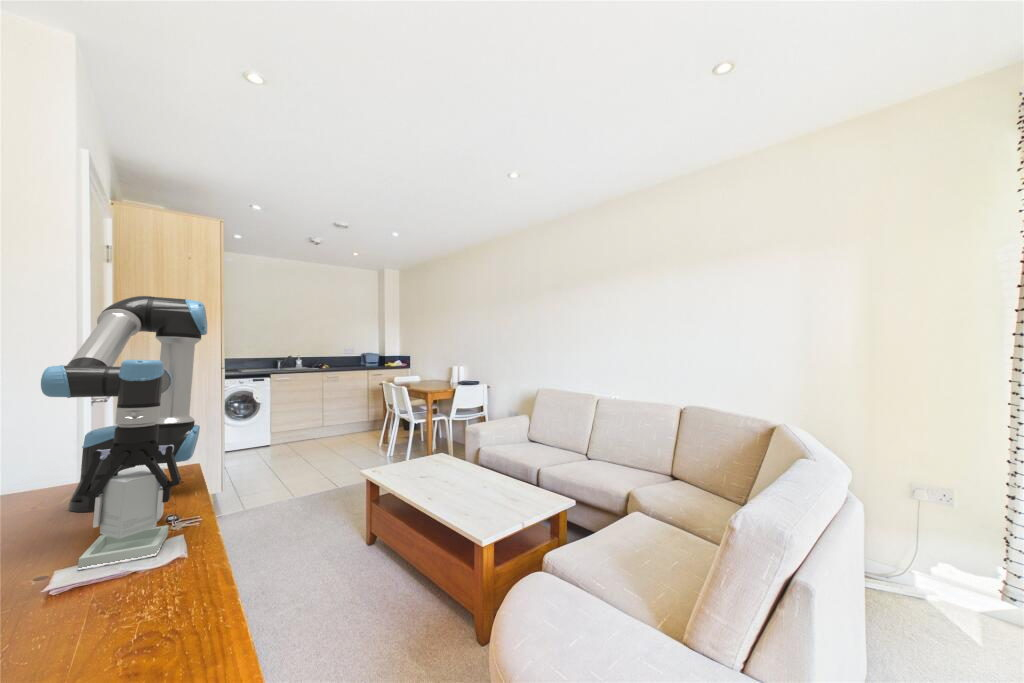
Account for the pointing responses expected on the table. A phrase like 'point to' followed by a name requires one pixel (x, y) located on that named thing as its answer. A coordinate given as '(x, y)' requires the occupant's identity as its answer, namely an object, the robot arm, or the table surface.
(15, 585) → the table surface
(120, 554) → the holder tray
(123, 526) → the supplement box
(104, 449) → the robot arm
